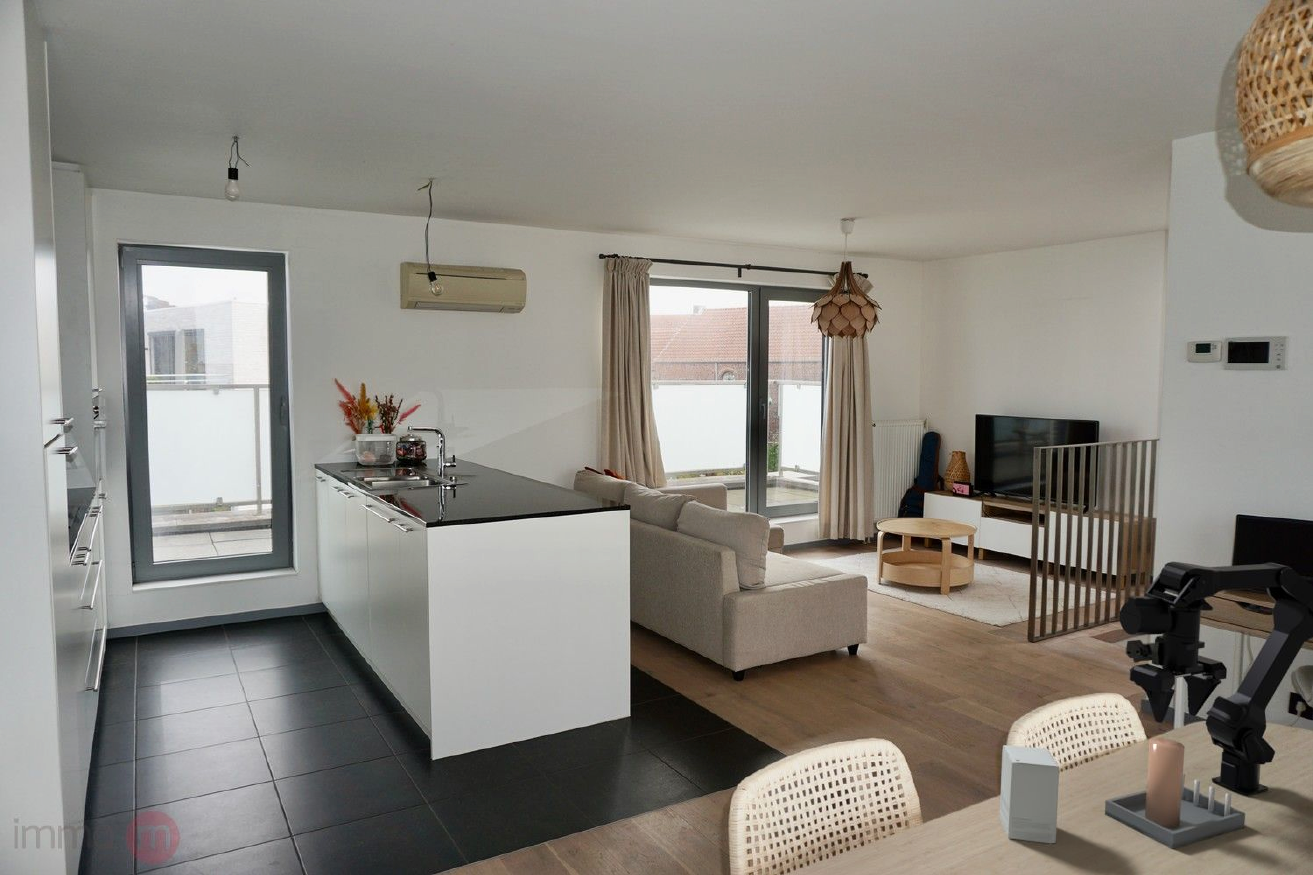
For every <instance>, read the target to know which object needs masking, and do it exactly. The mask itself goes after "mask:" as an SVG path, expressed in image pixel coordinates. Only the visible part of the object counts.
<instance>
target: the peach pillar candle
mask: <svg viewBox="0 0 1313 875" xmlns="http://www.w3.org/2000/svg"><path fill="white" fill-rule="evenodd" d="M1148 742H1149V743H1148V744H1149V745H1148V746H1149V747H1148V757H1147V758H1148V759H1147V778H1146V790H1147V792H1146V809H1145V818H1146V819H1148V820H1150V821H1152V822H1154V823H1156V824H1158V825H1160V826H1163V827H1168V828H1175V827H1178V826H1179V825H1180V813H1181V796H1182V780H1183V774H1184V762H1185V761H1184V759H1185V745H1184V744H1183V743H1181V742H1179V741H1176V740H1174V739H1169V738H1165V737H1151V738H1149V741H1148Z"/></svg>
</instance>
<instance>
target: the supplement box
mask: <svg viewBox="0 0 1313 875" xmlns="http://www.w3.org/2000/svg"><path fill="white" fill-rule="evenodd" d="M1001 754H1002V755H1001V756H1002V757H1001V775H1000V776H1001V778H1000V802H999V803H1000V805H999V819H1000V822H1001V824H1002V827H1003V829H1004V832H1005V833H1006V836H1007V838H1008V839H1010V840H1011V839H1012V840H1018V841H1019V840H1020V841H1027V842H1035V843H1045V844H1052V843H1055V844H1056V841H1057V840H1056V839H1057V823H1058V820H1057V819H1058V803H1059V783H1060V782H1059V781H1060V765H1059V764H1058V762H1057V761H1056V759H1055V757H1054V756H1053V755H1052V753H1051V752H1050V749H1048V748H1041V747H1030V746H1019V745H1016V746H1015V745H1005V744H1003V746H1002V753H1001Z"/></svg>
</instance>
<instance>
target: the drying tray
mask: <svg viewBox="0 0 1313 875" xmlns="http://www.w3.org/2000/svg"><path fill="white" fill-rule="evenodd" d="M1185 777H1186V774H1184V773H1183V780H1182V796H1181V813H1180V825H1179V826H1178V827H1175V828H1168V827H1163V826H1160V825H1158V824H1156V823H1154V822H1152V821H1150V820H1148V819H1146V818H1145V809H1146V792H1147V789H1144V790H1142V791H1137V792H1133V793H1129V794H1126V795H1121V796H1117V797H1114V798H1109V799H1106V800H1105V802H1104V803H1105V805H1104V808H1105V809H1104V814H1105V816H1108V817H1110V818H1112V819H1114V820H1116V821H1118V822H1120V823H1122V824H1123V825H1126V826H1127V827H1129V828H1131V829H1133V830H1135V831H1137V832H1138V833H1141V834H1143V835H1144V836H1147V837H1148V838H1150V839H1153V840H1154V841H1156V842H1159V843H1160V844H1162V845H1164V846H1166V847H1168V848H1169V849H1172V850H1173V849H1176V848H1179V847H1183V846H1187V845H1190V844H1192V843H1196V842H1200V841H1202V840H1206V839H1209V838H1213V837H1217V836H1219V835H1223V834H1226V833H1230V832H1232V831H1233V832H1234V831H1236V830H1239V829H1244V828H1245V821H1246V813H1245V812H1244V811H1241V810H1239V809H1236V808H1234V807H1232V804H1231V803H1232V793H1229V792H1226V793H1225V795H1224V796H1225V798H1224V803H1223V802H1220V801H1219V800H1216V798H1215V796H1216V787H1215V786H1213V785H1209V787H1208V788H1209V790H1208V796H1207V795H1205V794H1202V793H1200V790H1201V789H1200V788H1201V781H1200V780H1199V779H1194V781H1193V782H1194V786H1193V789H1191V788H1189V787H1187V786H1185Z"/></svg>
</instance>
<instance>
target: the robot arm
mask: <svg viewBox="0 0 1313 875" xmlns="http://www.w3.org/2000/svg"><path fill="white" fill-rule="evenodd" d="M1256 589H1257V590H1258V589H1266V592H1267V595H1268V596H1269V597H1270V598H1271V599H1272V600H1273V601H1274V602H1275V604H1274V606H1273V610H1272V619H1273V629H1272V631H1271V632H1270V633H1269V636H1267V638H1266V640H1265V642H1264V643H1263V646H1262V647H1261V649H1260V651H1259V653H1258V654H1257V656H1256V657H1255V659H1254V661H1253V662H1252V664H1251V666H1250V668H1249V669H1248V671H1247V673H1246V675H1245V676H1244V678H1243V680H1242V681H1241V683H1240V685H1239V687H1238V688H1237V689H1236V691H1235V693H1234V694H1232V695H1230V696H1229V697H1224V696H1221V695H1218V696H1217V697H1216V698H1215V699H1214V701H1213V702H1212V703H1213V704H1212V706H1211V708H1210V709H1209V710H1208V711H1206V713H1205V715H1207V717H1206V720H1205V726H1206V729H1207V732H1208V734H1209V735H1210V738H1211V742H1212V744H1213V745H1215V746H1218V747H1219V748H1221V749H1222V752H1221V761H1220V770H1219V771H1220V773H1219V774H1220V775H1219V776H1215V777H1213V778H1211V782H1213V783H1215V784H1218V785H1219V786H1222V787H1224V788H1227V789H1230V790H1232V791H1234V792H1236V793H1238V794H1241V795H1243V796H1251V795H1256V794H1259V793H1262V792H1266V791H1268V790H1269V786H1266V785H1264V784H1261V783H1260V779H1261V778H1260V777H1261V766H1262V765H1265V764H1266V763H1272V762H1273V760H1274V757H1275V754H1276V751H1275V749H1274V748H1273V747H1272V746H1271V745H1270V743H1268V741H1267V740H1266V739H1265V738H1264V735H1265V732H1266V729H1267V718H1266V717H1267V716H1266V709H1267V707H1268V705H1269V703H1270V702H1271V700H1272V698H1273V696H1274V695H1275V693H1276V691H1277V690H1278V688H1279V686H1280V684H1281V682H1282V681H1283V679H1284V677H1285V676H1286V674H1287V672H1288V671H1289V669H1290V667H1291V666H1292V664H1293V662H1294V661H1295V658H1296V657H1297V656H1298V654H1299V651H1301V649H1302V646H1304V643H1305V642H1307V641H1309V640H1310V639H1313V585H1312V584H1310V583H1309V582H1308V581H1307V580H1305V579H1304V578H1302V577H1301V576H1300V575H1299V573H1297V572H1296V570H1294V569H1293V568H1291V566H1288V565H1287V566H1286V565H1283V564H1278V563H1275V562H1266V563H1259V564H1242V565H1222V566H1204V565H1198V564H1193V563H1187V562H1179V561H1171V562H1170V561H1169V562H1167V563H1165V564H1164V566H1163V568H1161V571H1160V573H1159V574H1158V576H1157V577H1156V578H1155V580H1154V581H1153V582H1152V584H1151V585H1150V586H1149V587H1148V589H1147V590H1146V591H1145V592H1144V596H1138V595H1129V596H1128V601H1127V602H1125V603H1124V604H1123V605H1121V606H1122V607H1121V608H1120V610H1119V614H1118V615H1119V623H1120V625H1121V628H1122V629H1123V631H1124V632H1125V633H1126V634H1128V635H1131V636H1136V635H1137V636H1138V635H1143V636H1144V635H1148V636H1149V635H1154V636H1155V635H1157V636H1156V637H1155V638H1154V642H1145V643H1144V642H1143V641H1142V640H1141V639H1131V640H1127V642H1126V646H1125V647H1126V648H1125V650H1126V651H1125V654H1126V655H1127V657H1128V658H1130V659H1132V661H1133V664H1135V663H1137V664H1138V663H1139V662H1147V661H1149V662H1150V661H1151V663H1150V664H1149V663H1143V664H1138V665H1136V664H1135V665H1134V666H1132V667H1131V668H1130V669H1129V679H1128V680H1129V681H1131V682H1134V684H1135V685H1136V686H1137V687H1141V689H1142V690H1143V691H1144V692H1145V695H1146V697H1147V699H1148V703H1149V706H1150V708H1151V709H1150V710H1151V712H1152V715H1153V718H1154V721H1155V722H1156V723H1159V724H1162V723H1163V722H1164V720H1165V718H1166V716H1167V713H1168V710H1169V707H1170V705H1171V702H1172V700H1173V696H1174V695H1175V691H1176V690H1175V689H1173V687H1174V686H1175V684H1176V679H1177V678H1183V679H1184V681H1185V683H1186V685H1187V686H1186V688H1187V709H1188V715H1190V716H1192V717H1196V716H1197V715H1198V713H1199V712H1200V711H1201V710H1202V707H1203V706H1204V704H1205V703H1206V702H1207V700H1208V699H1209V697H1210V696H1211V695H1212V694H1213V692H1214V691H1215V690H1216V688H1217V687H1218V686H1219V685H1221V684H1222V680H1226V679H1227V674H1228V668H1227V667H1226V665H1225V664H1224V662H1222V661H1220V660H1215V659H1212V658H1210V657H1205V656H1202V655H1199V651H1200V649H1204V648H1205V646H1206V642H1205V641H1201V640H1200V635H1201V634H1200V633H1201V618H1202V617H1201V616H1202V615H1201V614H1202V612H1203V611H1205V612H1206V611H1207V612H1208V611H1210V612H1211V611H1213V610H1214V607H1213V606H1212V605H1211V604H1210V603H1209V602H1208V601H1207V600H1206V599H1207V598H1211V597H1214V596H1215V595H1217V593H1220V592H1224V591H1238V590H1239V591H1241V590H1256ZM1159 666H1160V667H1159Z"/></svg>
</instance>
